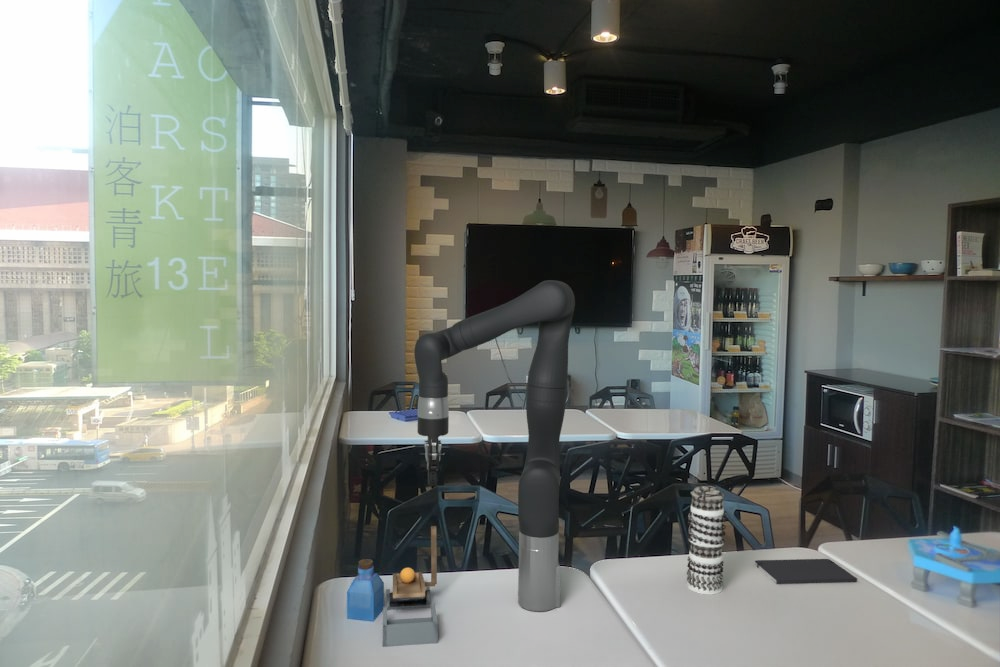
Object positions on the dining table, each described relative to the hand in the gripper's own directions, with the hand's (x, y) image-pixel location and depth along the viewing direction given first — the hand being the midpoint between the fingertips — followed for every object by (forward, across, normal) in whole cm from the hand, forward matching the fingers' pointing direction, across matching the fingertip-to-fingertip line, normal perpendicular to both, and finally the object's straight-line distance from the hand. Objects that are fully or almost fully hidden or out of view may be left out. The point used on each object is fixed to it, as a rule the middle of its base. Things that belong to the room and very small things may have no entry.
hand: (432, 484), depth 168 cm
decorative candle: (+25, -10, -67) cm, 72 cm away
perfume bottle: (+26, -13, +16) cm, 33 cm away
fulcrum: (+25, -10, +6) cm, 28 cm away
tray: (+25, -23, +6) cm, 35 cm away
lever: (+22, -10, +4) cm, 24 cm away
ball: (+21, -3, +6) cm, 22 cm away
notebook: (+26, -5, -97) cm, 100 cm away
